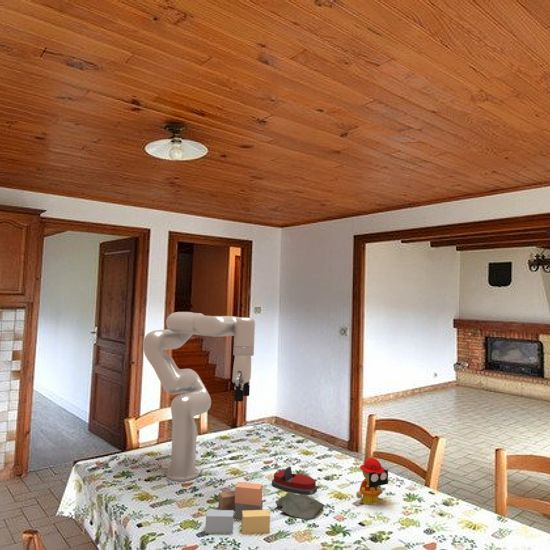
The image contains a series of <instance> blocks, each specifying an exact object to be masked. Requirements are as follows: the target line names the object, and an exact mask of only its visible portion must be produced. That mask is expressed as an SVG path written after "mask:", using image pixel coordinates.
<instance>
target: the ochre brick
mask: <svg viewBox="0 0 550 550" xmlns="http://www.w3.org/2000/svg"><path fill="white" fill-rule="evenodd" d="M270 522H271V515H270V511H269V509H262V510H247V511H242V520H241V530H242V531H241V532H242V535H247V533H248V534H249V535H250V534H267V533H269V534H270V533H271V532H270V526H271V523H270Z"/></svg>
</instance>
